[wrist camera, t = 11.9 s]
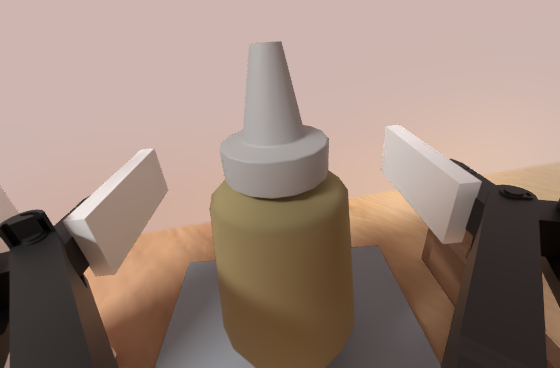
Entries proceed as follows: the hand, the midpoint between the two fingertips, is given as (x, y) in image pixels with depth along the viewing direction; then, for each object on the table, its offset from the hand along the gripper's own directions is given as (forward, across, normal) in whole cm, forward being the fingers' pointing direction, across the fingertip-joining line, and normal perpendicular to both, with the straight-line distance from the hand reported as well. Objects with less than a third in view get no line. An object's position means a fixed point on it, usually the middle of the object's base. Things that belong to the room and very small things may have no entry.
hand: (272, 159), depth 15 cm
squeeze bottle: (-3, 0, -12) cm, 13 cm away
